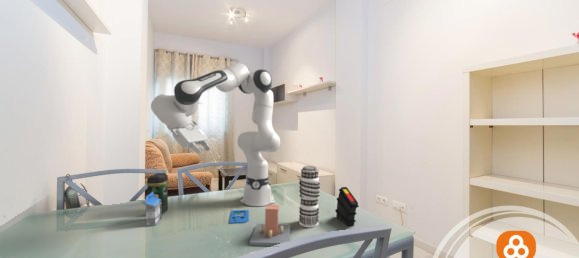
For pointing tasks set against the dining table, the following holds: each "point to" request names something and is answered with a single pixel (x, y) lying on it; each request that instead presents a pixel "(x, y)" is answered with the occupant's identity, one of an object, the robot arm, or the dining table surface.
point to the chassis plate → (270, 236)
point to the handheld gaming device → (239, 216)
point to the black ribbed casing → (346, 206)
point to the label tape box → (153, 210)
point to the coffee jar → (159, 188)
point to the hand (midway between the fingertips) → (204, 151)
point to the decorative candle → (309, 196)
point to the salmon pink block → (271, 219)
